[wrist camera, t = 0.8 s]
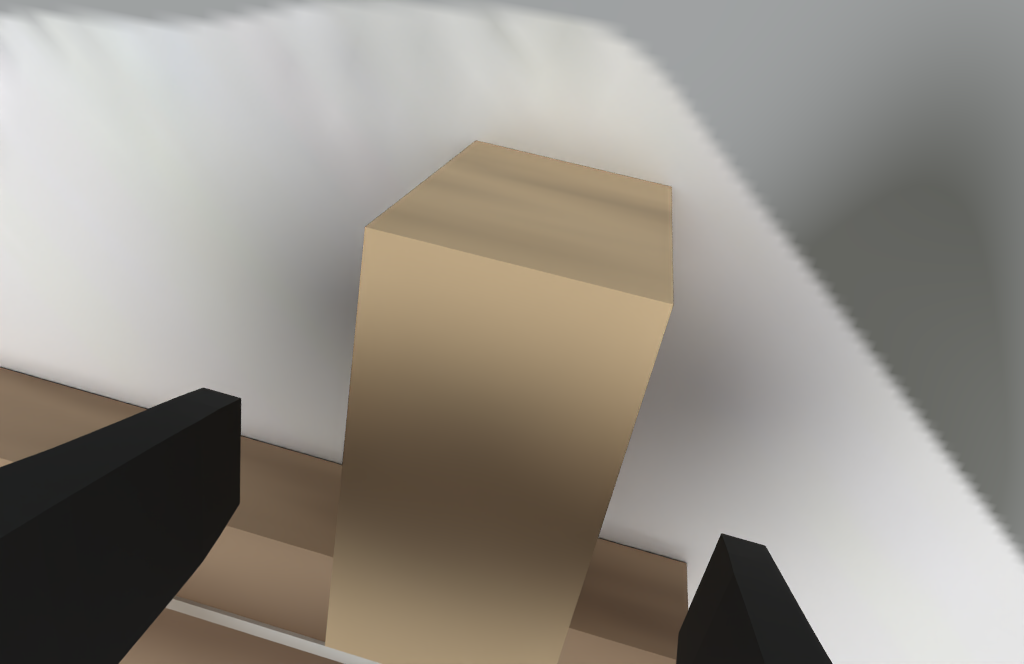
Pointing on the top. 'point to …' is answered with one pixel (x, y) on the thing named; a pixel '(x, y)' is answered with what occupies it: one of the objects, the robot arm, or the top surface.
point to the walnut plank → (319, 558)
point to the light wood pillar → (492, 403)
